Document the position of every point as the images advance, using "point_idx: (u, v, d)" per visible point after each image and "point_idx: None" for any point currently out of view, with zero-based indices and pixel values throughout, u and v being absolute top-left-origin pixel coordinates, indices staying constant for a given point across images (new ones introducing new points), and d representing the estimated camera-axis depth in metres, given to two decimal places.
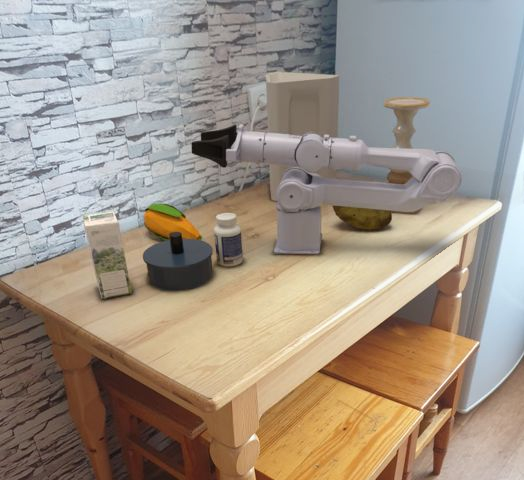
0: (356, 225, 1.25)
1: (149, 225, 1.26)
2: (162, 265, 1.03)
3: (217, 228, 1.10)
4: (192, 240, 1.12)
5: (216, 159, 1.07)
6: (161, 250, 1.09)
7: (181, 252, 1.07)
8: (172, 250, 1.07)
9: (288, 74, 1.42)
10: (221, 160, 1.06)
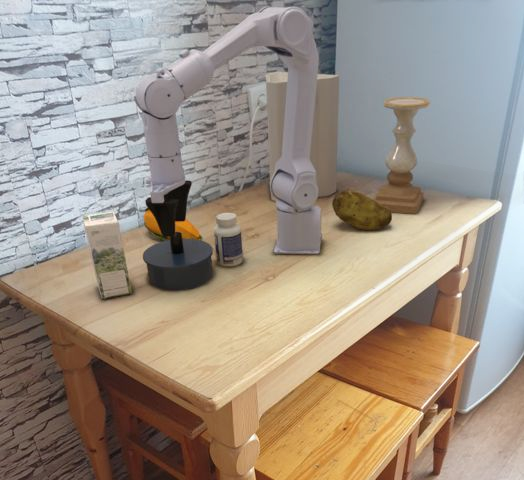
0: (356, 225, 1.25)
1: (149, 225, 1.26)
2: (162, 265, 1.03)
3: (217, 228, 1.10)
4: (192, 240, 1.12)
5: (169, 211, 0.98)
6: (161, 250, 1.09)
7: (181, 252, 1.07)
8: (172, 250, 1.07)
9: None
10: (168, 206, 0.97)
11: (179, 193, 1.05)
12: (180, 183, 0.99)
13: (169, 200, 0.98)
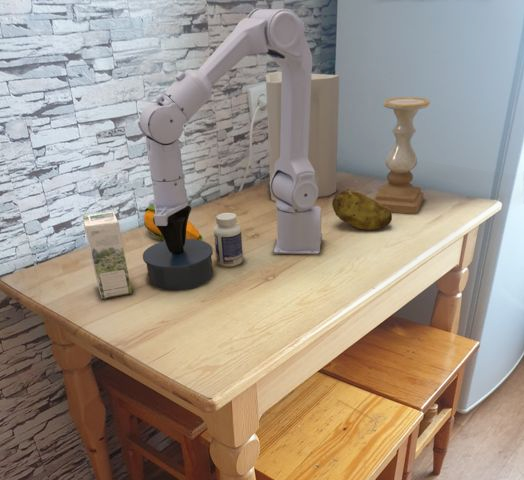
0: (356, 225, 1.25)
1: (149, 225, 1.26)
2: (162, 265, 1.03)
3: (217, 228, 1.10)
4: (192, 240, 1.12)
5: (176, 229, 1.02)
6: (161, 250, 1.09)
7: (181, 252, 1.07)
8: None
9: None
10: (175, 224, 1.01)
11: None
12: (183, 205, 1.01)
13: (176, 218, 1.02)
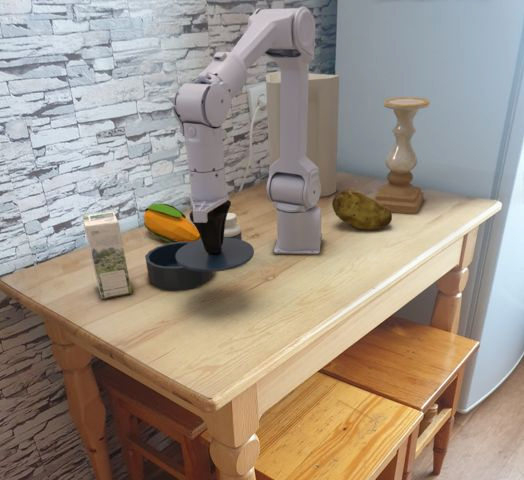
0: (356, 225, 1.25)
1: (149, 225, 1.26)
2: (199, 267, 0.91)
3: None
4: (230, 239, 1.00)
5: (215, 226, 0.90)
6: (196, 250, 0.97)
7: (219, 252, 0.95)
8: None
9: None
10: (214, 221, 0.89)
11: None
12: (224, 200, 0.89)
13: (215, 214, 0.90)
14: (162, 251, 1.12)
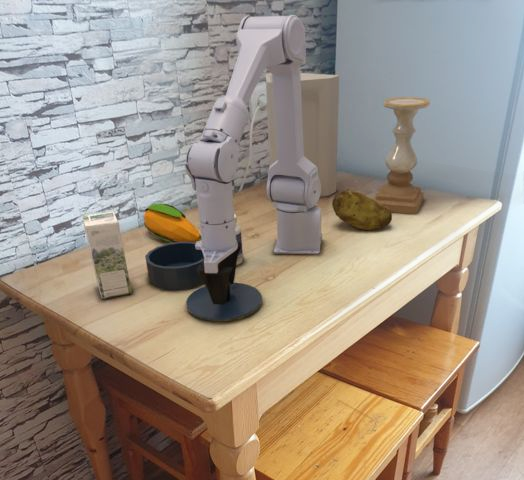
0: (356, 225, 1.25)
1: (149, 225, 1.26)
2: (209, 316, 0.95)
3: None
4: (238, 285, 1.04)
5: (223, 280, 0.91)
6: (206, 297, 1.00)
7: (228, 300, 0.99)
8: None
9: None
10: (221, 276, 0.90)
11: (229, 255, 0.99)
12: (233, 249, 0.92)
13: (222, 268, 0.91)
14: (162, 251, 1.12)
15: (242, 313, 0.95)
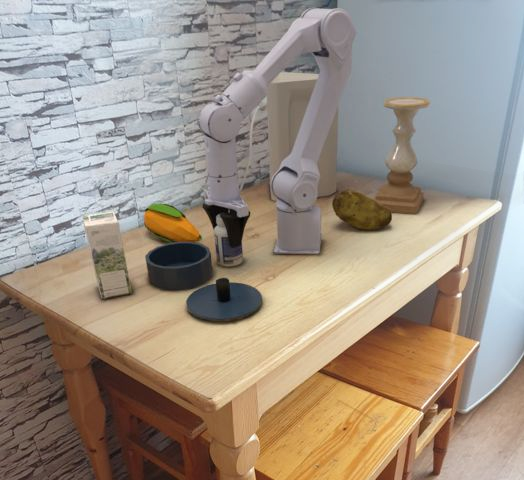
0: (356, 225, 1.25)
1: (149, 225, 1.26)
2: (209, 316, 0.95)
3: (217, 228, 1.10)
4: (238, 285, 1.04)
5: (244, 222, 1.07)
6: (206, 297, 1.00)
7: (228, 300, 0.99)
8: (218, 298, 0.98)
9: (288, 74, 1.42)
10: (245, 217, 1.06)
11: (222, 211, 1.12)
12: (240, 197, 1.08)
13: None
14: (162, 251, 1.12)
15: (242, 313, 0.95)
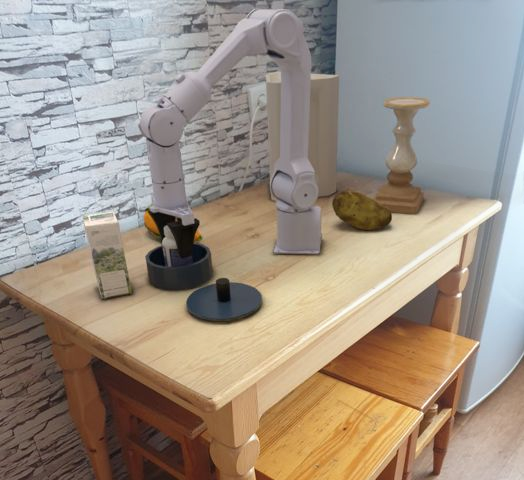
0: (356, 225, 1.25)
1: (149, 225, 1.26)
2: (209, 316, 0.95)
3: (165, 239, 1.06)
4: (238, 285, 1.04)
5: (193, 231, 1.02)
6: (206, 297, 1.00)
7: (228, 300, 0.99)
8: (218, 298, 0.98)
9: None
10: (193, 226, 1.01)
11: (169, 216, 1.08)
12: None
13: None
14: (162, 251, 1.12)
15: (242, 313, 0.95)
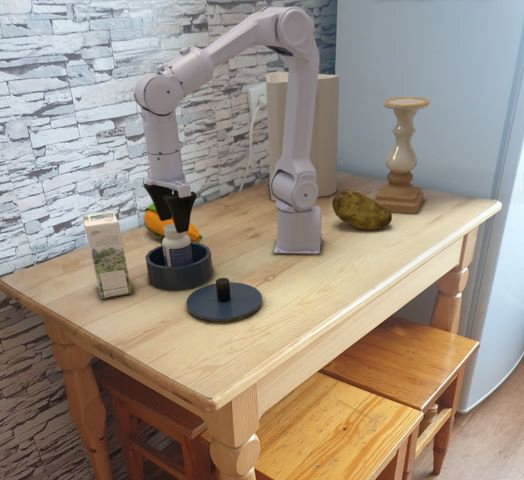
0: (356, 225, 1.25)
1: (149, 225, 1.26)
2: (209, 316, 0.95)
3: (165, 239, 1.06)
4: (238, 285, 1.04)
5: (190, 204, 0.99)
6: (206, 297, 1.00)
7: (228, 300, 0.99)
8: (218, 298, 0.98)
9: None
10: (190, 199, 0.98)
11: (165, 191, 1.05)
12: (184, 176, 1.00)
13: None
14: (162, 251, 1.12)
15: (242, 313, 0.95)
